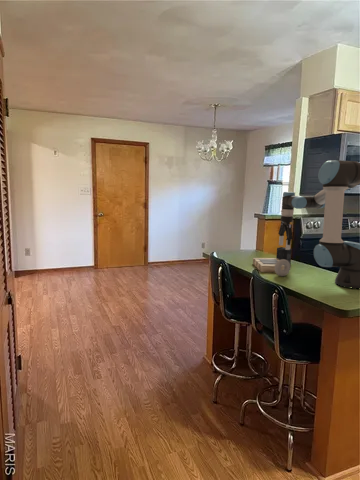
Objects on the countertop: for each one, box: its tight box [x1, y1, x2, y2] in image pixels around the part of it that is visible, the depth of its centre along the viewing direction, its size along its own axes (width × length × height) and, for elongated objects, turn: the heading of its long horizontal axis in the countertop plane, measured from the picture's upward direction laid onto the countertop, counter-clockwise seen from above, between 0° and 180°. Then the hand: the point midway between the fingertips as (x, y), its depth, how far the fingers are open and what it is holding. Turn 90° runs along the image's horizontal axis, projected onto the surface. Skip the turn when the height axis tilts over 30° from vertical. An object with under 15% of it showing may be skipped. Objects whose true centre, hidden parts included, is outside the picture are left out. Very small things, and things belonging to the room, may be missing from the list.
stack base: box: [252, 257, 284, 273], centre depth 205 cm, size 20×16×4 cm
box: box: [275, 246, 293, 265], centre depth 217 cm, size 8×6×11 cm
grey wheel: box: [274, 259, 291, 277], centre depth 187 cm, size 10×3×10 cm, turn 109°
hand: (284, 247), depth 216 cm, fingers open, 13 cm apart
